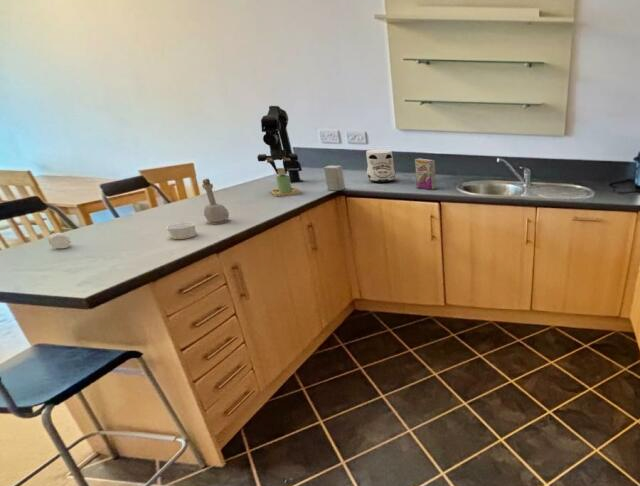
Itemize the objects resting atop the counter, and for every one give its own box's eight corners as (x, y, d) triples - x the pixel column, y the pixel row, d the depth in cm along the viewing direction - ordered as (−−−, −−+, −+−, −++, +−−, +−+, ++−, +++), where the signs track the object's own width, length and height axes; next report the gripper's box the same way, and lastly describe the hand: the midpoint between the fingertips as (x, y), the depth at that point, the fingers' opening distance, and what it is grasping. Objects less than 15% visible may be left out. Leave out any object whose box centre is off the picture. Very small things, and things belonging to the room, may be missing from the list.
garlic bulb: (71, 243, 152) (64, 228, 149) (74, 246, 148) (67, 232, 146) (50, 246, 148) (42, 232, 145) (53, 250, 144) (45, 235, 142)
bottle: (277, 192, 226) (271, 170, 221) (287, 190, 231) (283, 168, 226) (284, 194, 224) (279, 172, 218) (295, 192, 229) (290, 170, 223)
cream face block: (381, 185, 251) (378, 154, 243) (362, 181, 259) (358, 151, 251) (402, 180, 264) (399, 151, 256) (383, 177, 272) (380, 148, 264)
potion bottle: (235, 220, 181) (223, 178, 173) (216, 225, 174) (202, 182, 166) (220, 217, 184) (207, 176, 175) (201, 223, 176) (187, 180, 168)
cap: (281, 175, 220) (280, 169, 219) (275, 174, 222) (274, 168, 220) (288, 174, 224) (286, 168, 222) (282, 173, 225) (281, 167, 224)
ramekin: (170, 235, 162) (166, 224, 160) (197, 231, 167) (193, 220, 165) (170, 241, 156) (166, 230, 154) (198, 237, 161) (195, 226, 159)
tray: (271, 192, 228) (270, 189, 227) (295, 189, 235) (294, 187, 234) (276, 196, 220) (275, 194, 219) (300, 193, 226) (300, 191, 226)
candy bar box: (416, 187, 248) (413, 159, 240) (421, 186, 252) (419, 158, 244) (431, 190, 244) (430, 161, 236) (436, 188, 248) (435, 160, 240)
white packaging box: (345, 188, 242) (342, 165, 236) (339, 190, 235) (336, 167, 230) (333, 187, 242) (329, 165, 237) (327, 190, 236) (323, 167, 230)
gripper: (252, 145, 205) (261, 177, 213) (294, 144, 212) (300, 176, 220) (255, 142, 214) (262, 173, 222) (294, 142, 221) (301, 172, 228)
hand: (281, 174), depth 223 cm, fingers closed on cap, 4 cm apart
